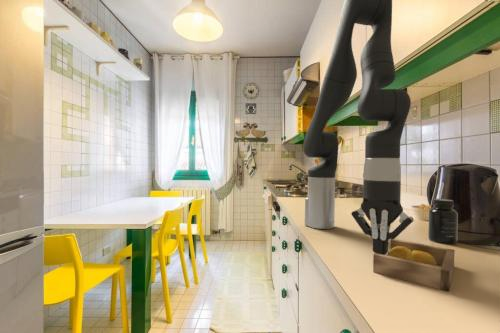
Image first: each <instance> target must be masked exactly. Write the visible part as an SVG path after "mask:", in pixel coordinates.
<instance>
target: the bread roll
mask: <svg viewBox="0 0 500 333" xmlns="http://www.w3.org/2000/svg"><path fill="white" fill-rule="evenodd" d="M386 255H387V256H391V257H396V258H401V259H405V260H410V261H414V262H419V263H424V264H428V265H433V266H438V264H436V261H435V259H434V257H433V256H432V255H430V254H429V253H427V252H423V251H418V250H413V251H411V250H410V249H408V248H406V247H403V246H396V247H394V248H392V249H391V250H390V249H389V250H388V252H387V254H386Z"/></svg>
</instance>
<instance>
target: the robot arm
mask: <svg viewBox="0 0 500 333" xmlns="http://www.w3.org/2000/svg"><path fill="white" fill-rule="evenodd" d="M339 17H340V18H339V23H338V26H337V31H336V36H335V40H334V44H333V48H332V52H331V55H330V58H329V61H328V65H327V68H326V71H325V73H324V77H323V80H322V84H321V88H320V92H319V96H318V99H317V103H316V106H315V108H314V109H315V110H314V113H313V115H312V118H311V120H310V123H309V125H308V129H307V131H306V133H305V136H304V140H303V145H302V146H303V154H304V155H305V156H306V157H308V158H318V159H319V158H320V162H319V163H318V164H317V165H315V166H313V167H311V168H308V171H307V197H306V198H305V199H304V226H307V227H310V228H313V229H317V230H318V229H320V230H328V229H329V230H331V229H333V228H335V208H336V206H335V205H336V204H335V203H336V202H335V201H336V200H335V198H336V197H335V195H336V172H337V169H338V157H339V139H338V135H337V134H336V133H335V132H334V131H324V130H325V129H326V126H327V124H328V123H329V120H331V119H332V117H333V116H335V114H337V112H338V111H339V110H340V109H342V107H343V106H344V105H345V104H346V103H347V102H348V100H349V99H350V97H351V95H352V93H353V90H354V87H355V84H356V81H357V78H358V70H357V64H356V60H355V56H354V52H353V46H352V45H353V44H352V43H353V42H352V39H353V32H354V28H355V24H357V25H363V26H371V29H372V34H371V37H369V39H368V41H367V42H366V44H365V45H364V47H363V48H362V51H361V54H360V70H361V71H360V72H361V77H362V78H361V79H362V81H361V82H362V83H361V90H360V91H361V92H360V95H359V98H358V103H357V113H358V116H359V117H360V118H361V119H362V120H363V121H365V122H387V125H386V127H385V129H383V130H377V131H374V132H370V133H367V135H366V137H365V143H364V144H365V145H364V148H365V149H364V150H365V151H364V154H365V155H364V157H365V158H364V163H363V164H364V165H363V173H362V179H363V180H362V181H363V187H362V188H363V190H362V202H361V203H360V207H359V208H357V209H355V210H353V211H351V214H350V215H351V216H352V217H353V219H354V221H355V223H357V225H358V227H359V228H361V230H362V232H363V234H364V235H367V236H370V237H371V238H372V252H373V253H374V254H375V253H377V254H382V255H388V252H389V240H391V239H395V240H396V238H397V237H398V236H399V235H400V234H402V232H404V231H405V230H406V229H407V228H408V227H409V226H410V225H411V224H412V223H413V222H414V220H415V219H414V218H413V216H409V215H408V214H407V213H406V212H404V208H403V206H402V204H401V203H402V202H401V194H402V193H401V191H402V190H401V188H402V186H401V185H402V184H401V183H402V182H401V181H402V166H401V139H402V135H403V131H404V128H405V124H406V122H407V119H408V116H409V112H410V109H411V104H412V103H411V102H412V100H411V97H410V94H409V93H408V91H406V90H405V89H400V88H389V89H388V87H389V86H390V85H392V84H393V83H394V81H395V79H396V68H395V66H396V65H395V61H394V56H393V50H392V26H393V25H392V24H393V23H392V22H393V21H392V20H393V0H344V1H343V5H342V8H341V12H340V16H339ZM365 216H366V218H367V219H368V220H369V221H370V224H369V223H368V221H367V220H366V218H365ZM398 218H399V219H398ZM397 219H398V222H399V225H398V226H396V228H395V229H393V231H392V232H391V231H390V230H391V226H392V224H393V223H394V222H395V221H396V220H397Z"/></svg>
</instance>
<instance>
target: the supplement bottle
mask: <svg viewBox="0 0 500 333" xmlns="http://www.w3.org/2000/svg"><path fill="white" fill-rule="evenodd" d="M454 203H455V202H454V200H453V199H448V198H433V199H432V206H433V207H432V208H430V209H429V210H428V227H427V228H428V230H427V231H428V235H427V237H428V239H429V240H430V241H431V242H433V243H437V244H443V245H454V244H457V243H458V229H459V228H458V226H459V224H458V222H459V220H458V219H459V218H458V217H459V213H458V212H457V210H455V209H454V208H455V205H454Z"/></svg>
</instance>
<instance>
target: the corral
mask: <svg viewBox="0 0 500 333" xmlns="http://www.w3.org/2000/svg"><path fill="white" fill-rule="evenodd" d="M389 246H390V247H389V248H390V249H389V251H390V250H391V249H392V248H394V247H396V246H403V247H406V248H408V249H410V250H411V251H413V250H418V251H423V252H427V253H429V254H430V255H432V256H433V257H434V259H435V261H436V264H437V266H433V265H428V264H424V263H419V262H414V261H410V260H405V259H401V258H396V257H391V256H387V255H388V254H386V255H382V254H377V253H375V252H374V253H373V258H372V259H373V260H372V263H373V264H372V266H373V267H372V268H373V269H372V272H373V273H376V274H379V275H380V274H381V275H384V276H388V277H392V278H395V279H399V280H402V281H403V280H404V281H406V282H407V281H408V282H410V283H415V284H419V285H422V286H425V287H430V288H435V289H438V290H443V291H446V292H449V291H450V290H451V288H450V287H451V284H452V282H451V281H452V278H453V273H454V268H455V249H452V248H445V247H442V246H441V247H440V246H434V245H428V244H424V243H423V244H422V243H417V242H412V241H405V240H400V239H396V238H395V239H390V245H389Z"/></svg>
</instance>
